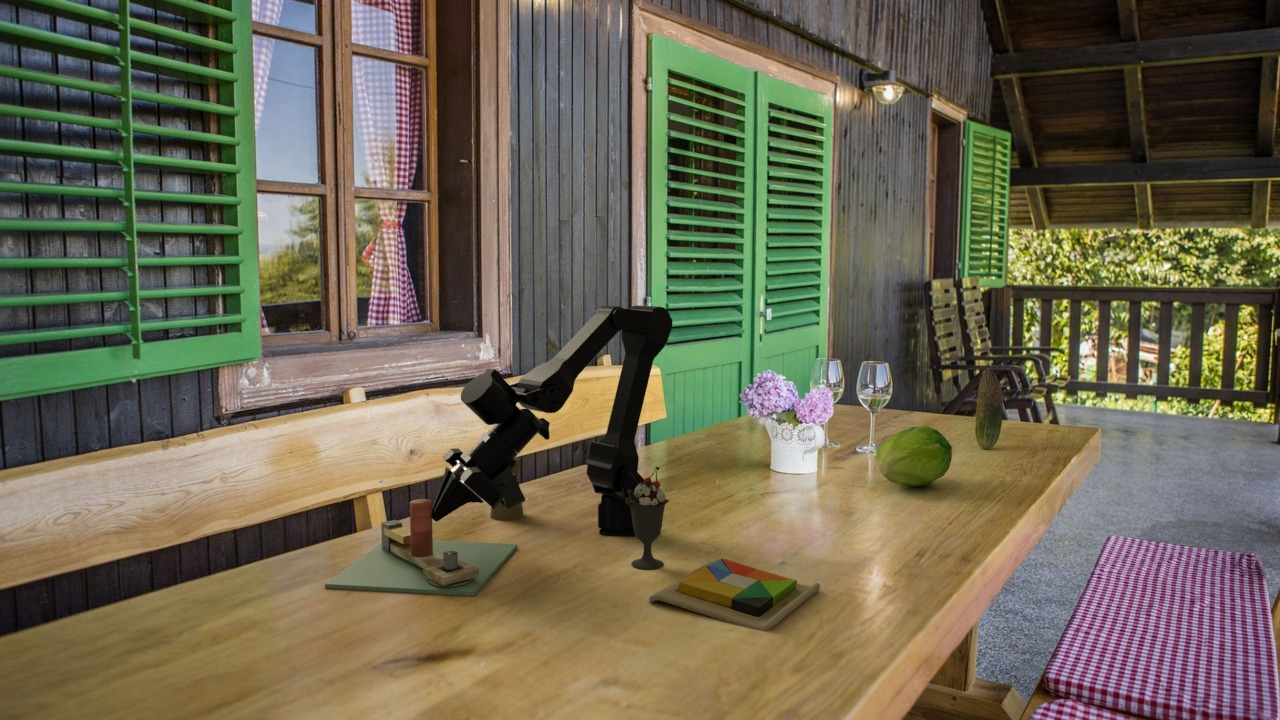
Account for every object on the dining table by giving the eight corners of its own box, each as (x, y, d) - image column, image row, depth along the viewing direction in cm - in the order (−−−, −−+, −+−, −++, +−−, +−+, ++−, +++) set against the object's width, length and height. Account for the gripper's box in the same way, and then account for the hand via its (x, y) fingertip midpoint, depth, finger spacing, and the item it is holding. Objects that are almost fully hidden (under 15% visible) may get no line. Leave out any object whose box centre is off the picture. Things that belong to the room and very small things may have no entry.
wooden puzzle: (772, 637, 118) (773, 610, 117) (644, 607, 128) (644, 582, 127) (823, 595, 132) (823, 571, 132) (704, 571, 142) (705, 548, 142)
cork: (517, 521, 167) (516, 460, 166) (485, 519, 168) (484, 459, 167) (527, 512, 173) (527, 453, 172) (496, 510, 174) (495, 452, 173)
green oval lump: (850, 490, 189) (852, 432, 188) (903, 474, 203) (904, 420, 202) (912, 503, 179) (914, 442, 178) (963, 485, 193) (965, 428, 192)
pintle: (479, 577, 138) (478, 547, 137) (465, 593, 131) (464, 561, 131) (437, 575, 139) (437, 545, 138) (421, 590, 132) (420, 559, 132)
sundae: (674, 560, 146) (675, 465, 144) (661, 573, 140) (661, 475, 138) (634, 555, 148) (634, 462, 146) (619, 568, 142) (619, 471, 140)
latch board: (517, 547, 152) (517, 544, 152) (474, 596, 130) (473, 592, 130) (388, 541, 155) (388, 538, 155) (324, 588, 133) (324, 583, 133)
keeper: (381, 553, 149) (380, 522, 148) (396, 549, 151) (395, 519, 150) (403, 565, 143) (403, 533, 143) (419, 561, 145) (418, 530, 144)
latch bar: (479, 576, 135) (478, 514, 134) (443, 585, 131) (441, 521, 130) (415, 546, 149) (414, 489, 148) (381, 553, 145) (379, 495, 144)
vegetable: (971, 445, 234) (974, 366, 232) (997, 446, 234) (1001, 366, 231) (976, 450, 228) (980, 369, 226) (1003, 451, 228) (1007, 369, 225)
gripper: (557, 489, 138) (483, 570, 135) (524, 462, 155) (459, 534, 153) (504, 439, 134) (427, 522, 132) (477, 418, 152) (408, 491, 149)
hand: (432, 518), depth 141 cm, fingers closed on latch bar
